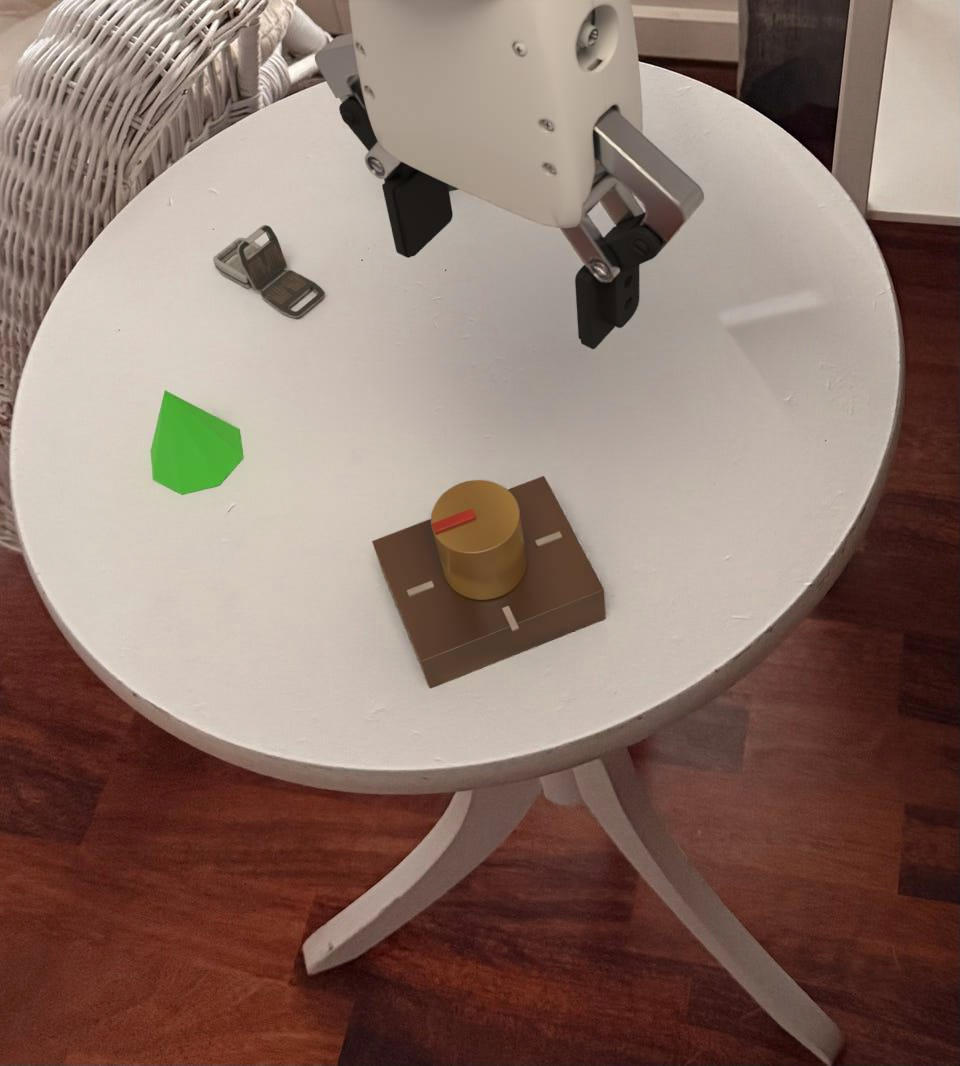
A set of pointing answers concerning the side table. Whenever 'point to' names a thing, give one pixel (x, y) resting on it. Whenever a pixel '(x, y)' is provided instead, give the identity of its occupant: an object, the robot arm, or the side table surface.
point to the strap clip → (267, 272)
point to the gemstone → (192, 447)
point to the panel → (501, 623)
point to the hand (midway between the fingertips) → (513, 279)
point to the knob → (479, 539)
